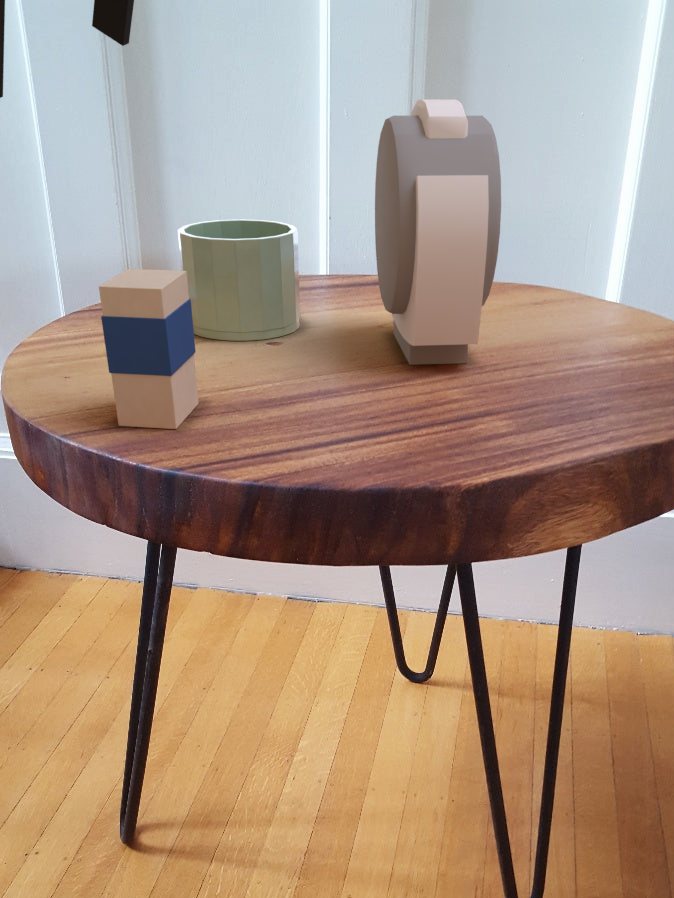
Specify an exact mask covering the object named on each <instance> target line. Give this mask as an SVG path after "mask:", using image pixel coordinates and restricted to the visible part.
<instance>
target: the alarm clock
mask: <svg viewBox="0 0 674 898" xmlns="http://www.w3.org/2000/svg"><path fill="white" fill-rule="evenodd" d="M466 114H467V113H466V111H465V108H464V106H463V104H462V102H460V101H459V100H458V99H427V98H425V99H417V100H416V101H415V104H414V105H413V108H412V110H411V112H410V115H391V116H389V117H388V118H386V119H384V122H383V125H382V128H381V131H380V135H379V140H378V146H377V155H376V156H377V157H376V168H375V184H374V185H375V186H374V238H375V240H374V241H375V258H376V260H375V261H376V272H377V281H378V287H379V294H380V298H381V301H382V304H383V306H384V309H385V310H386V311H387V312H388V313H390V314H391V316H392V319H393V325H392V327H393V329H392V330H393V332H392V333H393V335H394V338H395V340H396V341H397V344H398V346H399V347H400V349H401V351H402V354H403V355H404V357H405V359H406V361H407V363H408V364H409V366H412V365H446V364H449V365H450V364H467V363H468V350H469V345H479V344H478V343H479V336H480V327H481V317H482V309H483V307H484V306H485V304H486V302H487V300H488V298H489V296H490V293H491V289H492V286H493V282H494V280H495V279H494V278H495V272H496V267H497V262H498V254H499V245H500V237H501V236H500V235H501V217H502V177H501V164H500V153H499V147H498V142H497V137H496V134H495V131H494V128H493V125H492V124H491V123H490V122H489V120H487V119H486V117H484V116H483V115H466Z"/></svg>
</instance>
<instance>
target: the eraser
mask: <svg viewBox="0 0 674 898" xmlns="http://www.w3.org/2000/svg"><path fill="white" fill-rule="evenodd" d="M98 291H99V299H100V304H101V311H102V312H101V313H102V315H101V317H100V319H101V325H102V332H103V333H102V334H103V339H104V346H105V354H106V359H107V360H106V361H107V367H108V368H107V369H108V373H109V374H110V376H111V383H112V388H113V389H112V390H113V395H114V401H115V402H114V403H115V409H116V417H117V424H118V426H119V427H129V428H130V427H131V428H146V429H147V428H150V429H165V430H166V429H167V430H168V429H169V430H177V429H178V428H179V427H180V425H182V423H183V422H184V421H185V420H186V419H187V418H188V416H189V415H190V414H191V413H192V412H193V411H194V410H195V409H196V407H197V406H198V405H199V403H200V402H199V392H198V391H199V390H198V382H197V381H198V379H197V371H196V359H195V353H196V342H195V334H194V330H193V319H192V308H191V299H189V294H188V283H187V273H186V271H182V270H177V269H176V270H174V269H173V270H171V269H150V268H149V269H145V268H144V269H143V268H127V269H125V270H123V271H122V272H120V273H119V274H117V275H116V276H114V277H112V278H111V279H109V280H106V281H105V282H103V283H102V284H101V285H99V286H98Z"/></svg>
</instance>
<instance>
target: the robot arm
mask: <svg viewBox="0 0 674 898" xmlns="http://www.w3.org/2000/svg"><path fill="white" fill-rule="evenodd" d="M134 4H135V0H93V10H92V22H91V27H93V28H94V29H96V30H97V31H99V32H101V33H102V34H104V35H105V36H107V37H108V38H110V39H111V40H113V41H114V42H116V43H117V44H119V45H121V46H122V47H124V46H127V45H128V44H130V37H131V29H132V22H133V14H134V13H133V12H134ZM5 16H6V0H0V99H1V98H3V97H4V69H5V68H4V65H5V64H4V63H5V24H6V23H5V20H6V17H5Z"/></svg>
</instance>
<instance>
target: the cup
mask: <svg viewBox="0 0 674 898" xmlns="http://www.w3.org/2000/svg"><path fill="white" fill-rule="evenodd" d="M177 236H178V237H177V238H178V247H179V258H180V259H179V260H180V269H181V270H180V271H186V273H187V283H188V294H189V299H191V308H192V319H193V330H194V336H198V337H202V338H206V339H211V340H219V341H231V342H234V341H235V342H246V341H247V342H250V341H261V340H267V339H268V340H269V339H276V338H280V337H284V336H287V335H290V334H292V333H294V332H296V331H297V330H298V329H299V328H300V326H301V325H300V318H301V294H300V291H301V290H300V264H299V261H300V260H299V233H298V228H297V227H296V226H295V225H293V224H289V223H287V222H286V223H285V222H282V221H273V220H266V219H265V220H264V219H242V218H241V219H240V218H239V219H217V220H207V221H199V222H194V223H189V224H185V225H183V226H181V227H180V228H178V229H177Z"/></svg>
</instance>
